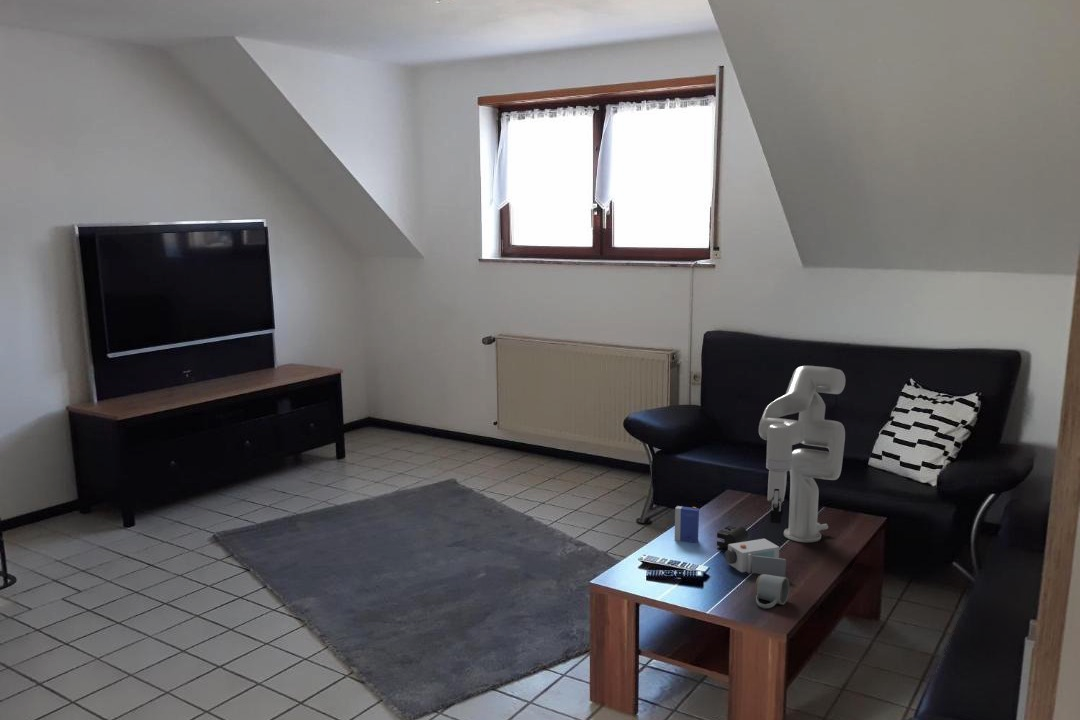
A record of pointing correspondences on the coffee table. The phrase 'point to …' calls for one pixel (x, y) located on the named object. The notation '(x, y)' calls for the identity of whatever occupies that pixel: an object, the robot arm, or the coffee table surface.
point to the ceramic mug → (771, 590)
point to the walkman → (686, 524)
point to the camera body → (749, 552)
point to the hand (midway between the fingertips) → (776, 518)
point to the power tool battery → (731, 537)
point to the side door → (766, 565)
